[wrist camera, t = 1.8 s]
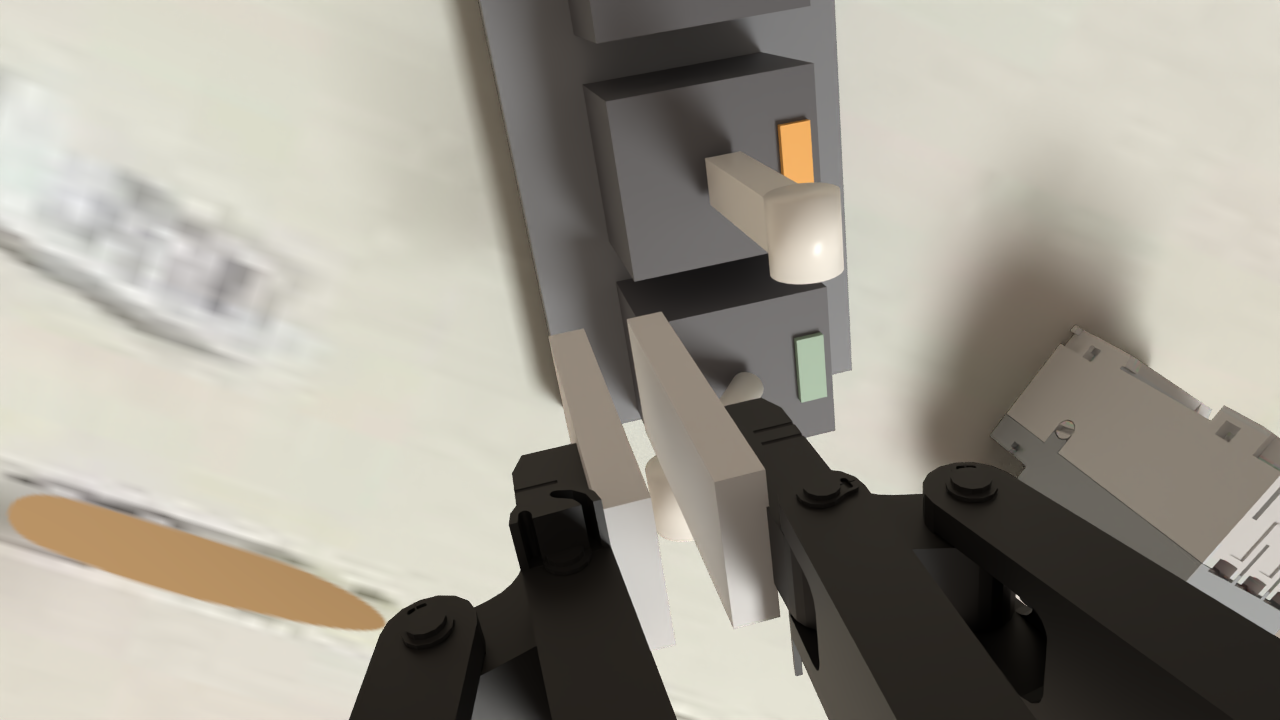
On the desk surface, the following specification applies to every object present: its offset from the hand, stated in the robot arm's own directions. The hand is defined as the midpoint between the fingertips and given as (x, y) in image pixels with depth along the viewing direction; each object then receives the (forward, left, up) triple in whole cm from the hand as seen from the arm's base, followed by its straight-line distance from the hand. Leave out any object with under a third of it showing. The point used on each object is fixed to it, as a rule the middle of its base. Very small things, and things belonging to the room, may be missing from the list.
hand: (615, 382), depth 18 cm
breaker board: (-7, 0, -24) cm, 25 cm away
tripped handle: (-7, 0, -15) cm, 16 cm away
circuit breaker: (-28, +23, -25) cm, 44 cm away
